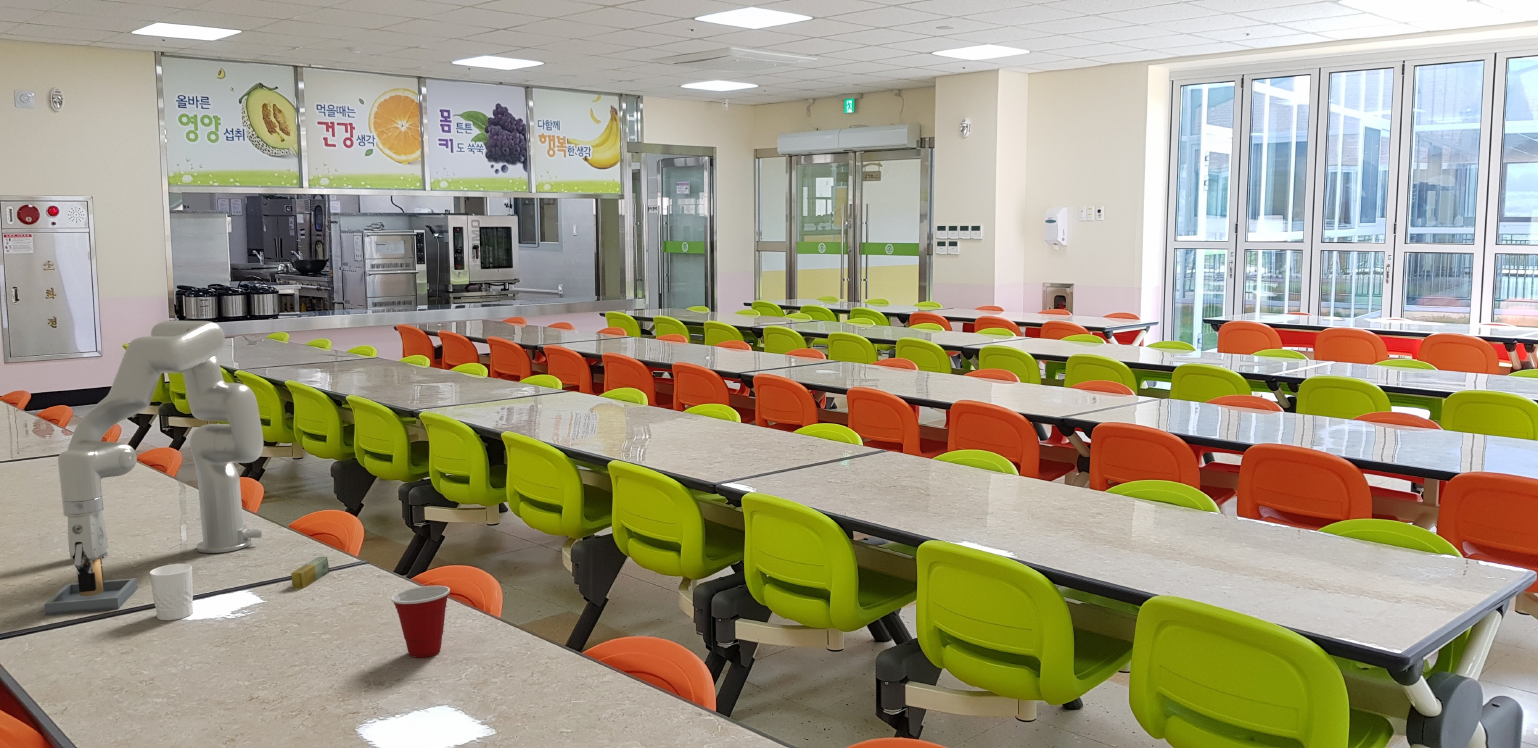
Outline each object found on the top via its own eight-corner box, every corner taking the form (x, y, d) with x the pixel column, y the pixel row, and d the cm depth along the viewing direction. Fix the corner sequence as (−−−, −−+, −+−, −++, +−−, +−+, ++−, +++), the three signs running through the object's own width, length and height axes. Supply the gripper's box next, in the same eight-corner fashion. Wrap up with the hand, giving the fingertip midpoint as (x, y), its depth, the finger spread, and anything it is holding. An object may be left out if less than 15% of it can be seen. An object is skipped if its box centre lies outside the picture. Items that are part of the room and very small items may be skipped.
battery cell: (106, 588, 253) (102, 555, 252) (99, 595, 248) (96, 561, 247) (84, 590, 252) (80, 557, 250) (77, 596, 247) (73, 562, 246)
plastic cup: (432, 637, 225) (428, 578, 223) (465, 650, 218) (461, 589, 216) (382, 654, 217) (378, 593, 215) (415, 667, 210) (411, 604, 208)
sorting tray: (137, 588, 259) (136, 578, 258) (118, 608, 245) (117, 597, 245) (68, 594, 255) (67, 583, 255) (45, 615, 242) (44, 604, 241)
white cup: (149, 623, 236) (145, 576, 234) (159, 611, 243) (154, 565, 242) (191, 619, 238) (187, 573, 236) (199, 607, 245) (195, 562, 244)
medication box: (319, 572, 269) (317, 556, 268) (329, 572, 268) (328, 556, 268) (292, 589, 257) (290, 572, 256) (303, 589, 257) (301, 572, 256)
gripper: (89, 514, 240) (98, 598, 243) (114, 495, 256) (122, 574, 259) (49, 517, 238) (58, 601, 241) (77, 498, 254) (85, 577, 257)
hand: (91, 586), depth 250 cm, fingers closed on battery cell, 4 cm apart
